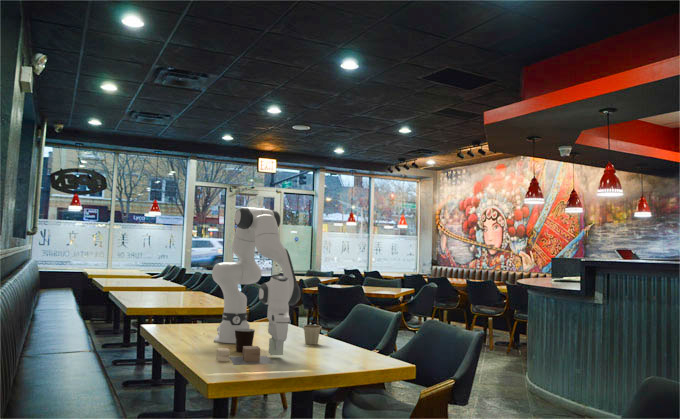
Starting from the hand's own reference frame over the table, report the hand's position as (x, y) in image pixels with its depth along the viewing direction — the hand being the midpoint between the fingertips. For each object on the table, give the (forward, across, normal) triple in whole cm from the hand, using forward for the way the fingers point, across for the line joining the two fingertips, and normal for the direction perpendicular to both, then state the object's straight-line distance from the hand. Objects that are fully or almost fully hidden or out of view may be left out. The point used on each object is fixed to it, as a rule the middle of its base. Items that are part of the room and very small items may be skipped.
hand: (276, 348), depth 219 cm
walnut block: (+4, +3, -11) cm, 12 cm away
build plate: (+5, +3, -11) cm, 12 cm away
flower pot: (+6, -36, +26) cm, 45 cm away
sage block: (+2, 0, 0) cm, 2 cm away
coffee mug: (+5, -18, -10) cm, 21 cm away
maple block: (+5, +1, -22) cm, 22 cm away
